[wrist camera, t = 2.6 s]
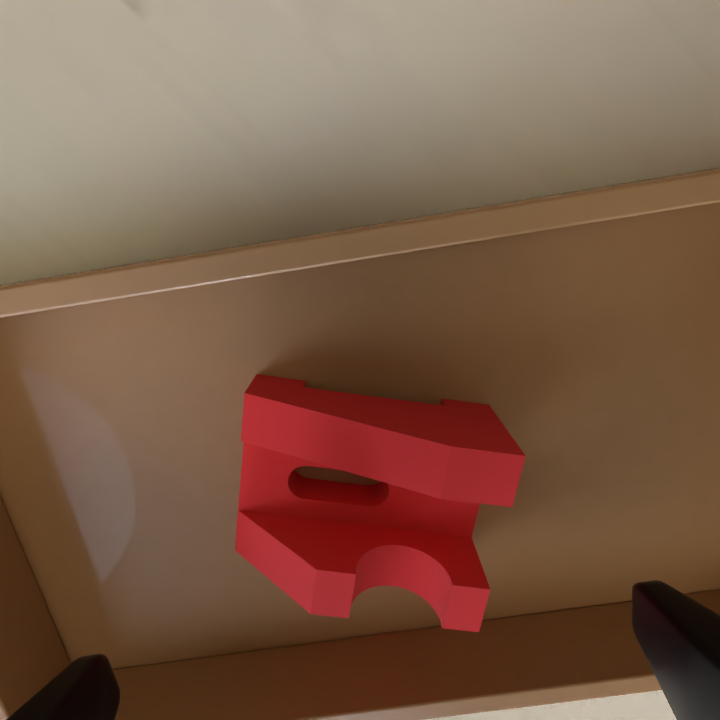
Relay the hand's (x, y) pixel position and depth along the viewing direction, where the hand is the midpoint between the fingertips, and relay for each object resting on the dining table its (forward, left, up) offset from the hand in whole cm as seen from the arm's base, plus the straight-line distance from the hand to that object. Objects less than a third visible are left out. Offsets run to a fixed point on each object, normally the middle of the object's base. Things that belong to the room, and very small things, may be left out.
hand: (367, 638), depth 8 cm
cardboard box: (0, 0, -6) cm, 6 cm away
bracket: (0, 0, -6) cm, 6 cm away
